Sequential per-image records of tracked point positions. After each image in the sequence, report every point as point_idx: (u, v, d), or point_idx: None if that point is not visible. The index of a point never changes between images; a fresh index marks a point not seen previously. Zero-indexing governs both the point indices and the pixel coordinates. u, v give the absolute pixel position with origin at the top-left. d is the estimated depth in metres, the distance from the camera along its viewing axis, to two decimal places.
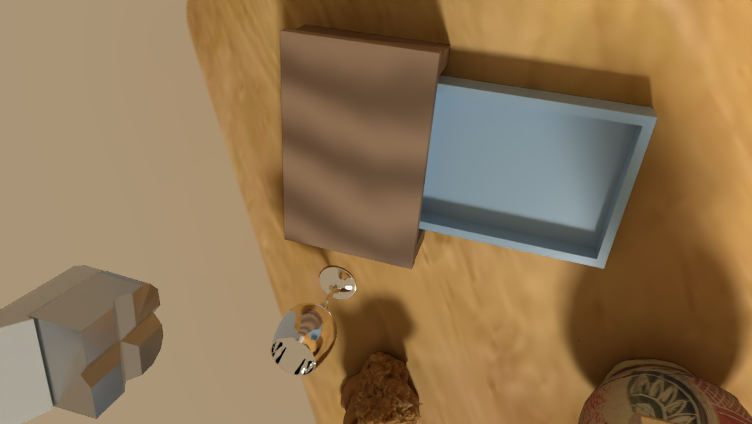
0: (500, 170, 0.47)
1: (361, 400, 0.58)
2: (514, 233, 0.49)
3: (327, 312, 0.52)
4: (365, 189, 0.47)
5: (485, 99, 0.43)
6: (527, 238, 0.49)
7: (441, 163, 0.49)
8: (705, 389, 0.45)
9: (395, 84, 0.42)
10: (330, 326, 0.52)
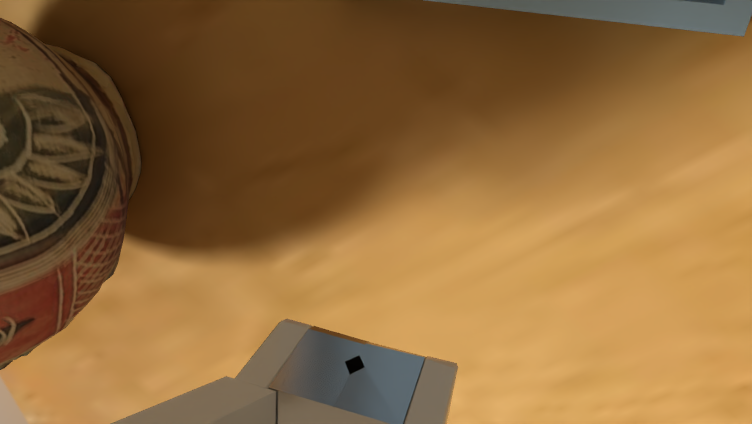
0: None
1: None
2: None
3: None
4: None
5: None
6: None
7: None
8: (104, 234, 0.21)
9: None
10: None
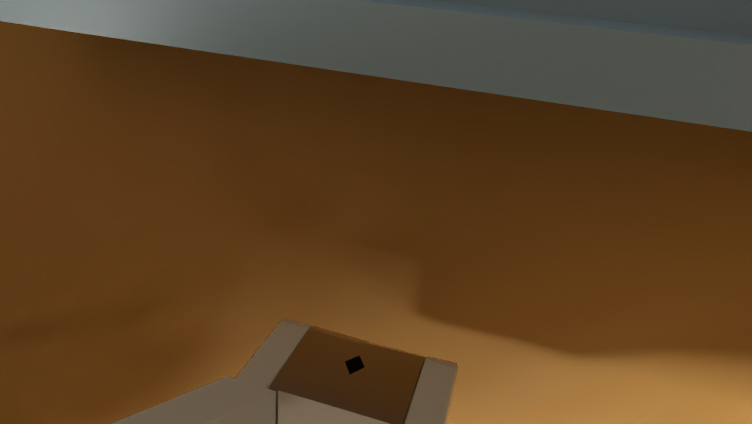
0: None
1: None
2: None
3: None
4: None
5: None
6: None
7: None
8: None
9: None
10: None
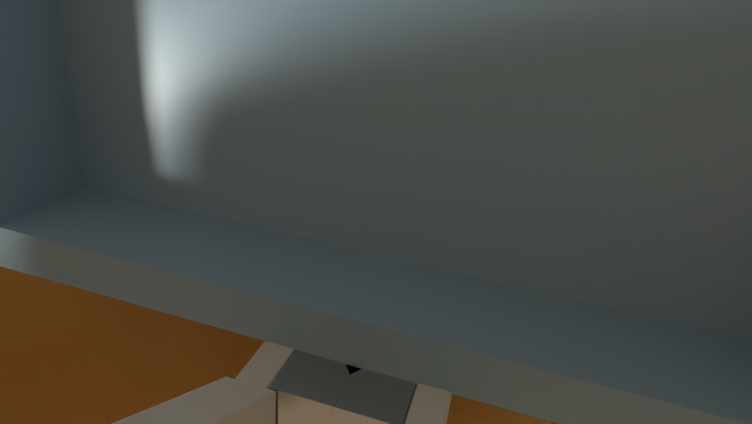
0: None
1: None
2: None
3: None
4: None
5: None
6: None
7: None
8: None
9: None
10: None
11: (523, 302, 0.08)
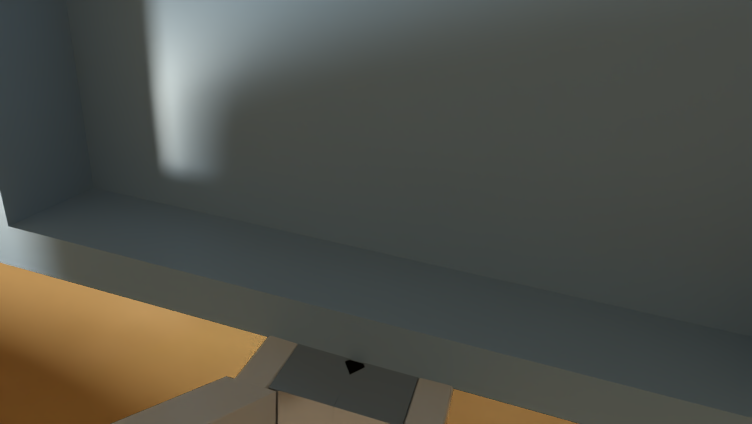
0: None
1: None
2: None
3: None
4: None
5: None
6: None
7: None
8: None
9: None
10: None
11: (527, 299, 0.08)
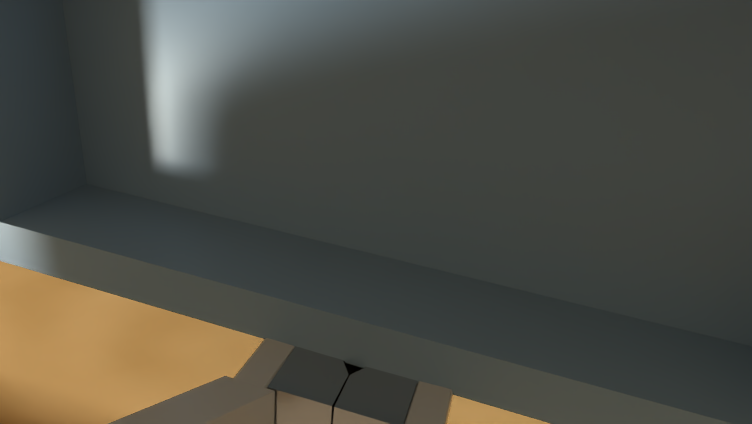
0: None
1: None
2: None
3: None
4: None
5: None
6: None
7: None
8: None
9: None
10: None
11: (521, 303, 0.08)
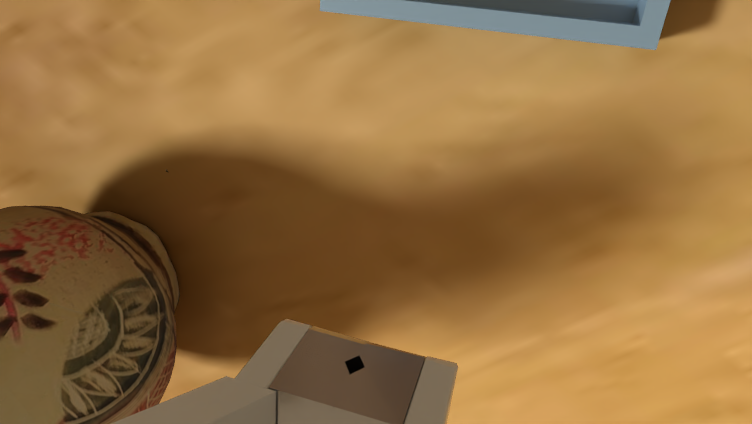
0: None
1: None
2: None
3: None
4: None
5: None
6: None
7: None
8: (165, 374, 0.30)
9: None
10: None
11: (537, 12, 0.23)
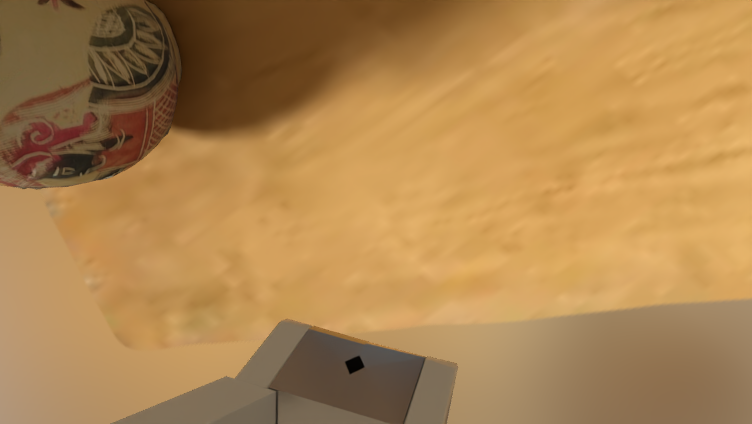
0: None
1: None
2: None
3: None
4: None
5: None
6: None
7: None
8: (168, 96, 0.37)
9: None
10: None
11: None
